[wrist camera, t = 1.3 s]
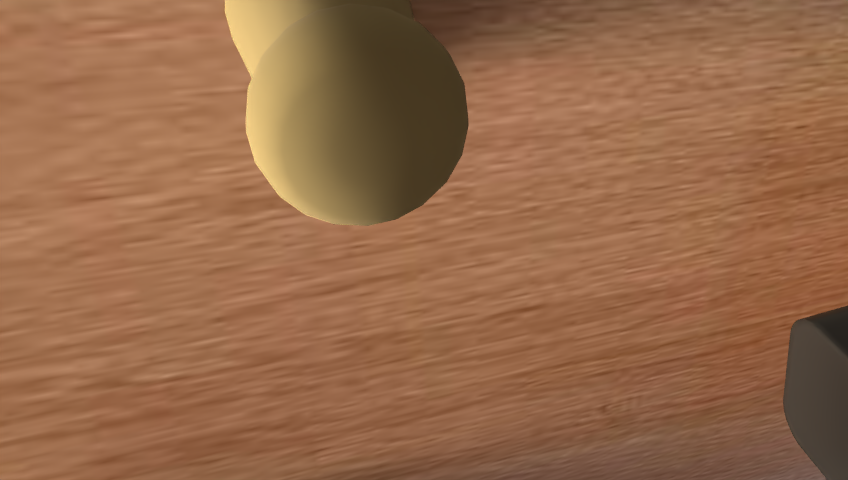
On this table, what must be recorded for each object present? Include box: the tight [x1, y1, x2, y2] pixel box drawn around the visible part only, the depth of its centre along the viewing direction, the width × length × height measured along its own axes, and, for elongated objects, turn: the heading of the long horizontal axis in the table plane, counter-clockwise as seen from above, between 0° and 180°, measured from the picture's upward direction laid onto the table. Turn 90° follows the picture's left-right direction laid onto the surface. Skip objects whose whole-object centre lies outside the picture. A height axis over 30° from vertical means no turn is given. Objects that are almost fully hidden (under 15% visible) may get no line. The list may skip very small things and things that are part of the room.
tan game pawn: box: [225, 0, 468, 226], centre depth 22 cm, size 6×6×11 cm
